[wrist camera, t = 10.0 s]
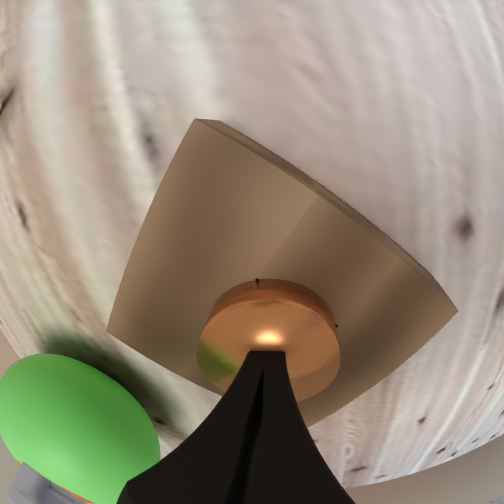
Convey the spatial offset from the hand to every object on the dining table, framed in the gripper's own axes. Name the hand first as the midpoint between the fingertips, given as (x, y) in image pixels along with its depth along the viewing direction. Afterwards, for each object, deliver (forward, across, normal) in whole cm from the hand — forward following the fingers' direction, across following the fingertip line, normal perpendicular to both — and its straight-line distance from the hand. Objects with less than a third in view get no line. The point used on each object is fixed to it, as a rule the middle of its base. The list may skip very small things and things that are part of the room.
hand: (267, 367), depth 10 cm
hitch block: (+5, 0, 0) cm, 5 cm away
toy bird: (+6, +18, +13) cm, 23 cm away
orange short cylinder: (+5, 0, 0) cm, 5 cm away
